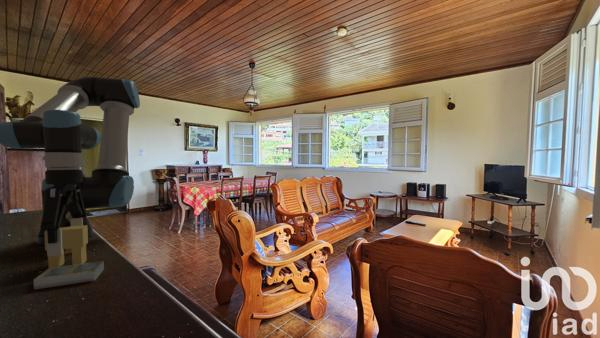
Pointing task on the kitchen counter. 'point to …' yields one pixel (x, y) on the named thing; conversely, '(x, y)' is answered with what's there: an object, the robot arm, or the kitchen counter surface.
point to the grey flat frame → (69, 274)
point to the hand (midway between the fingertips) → (67, 247)
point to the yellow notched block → (71, 245)
